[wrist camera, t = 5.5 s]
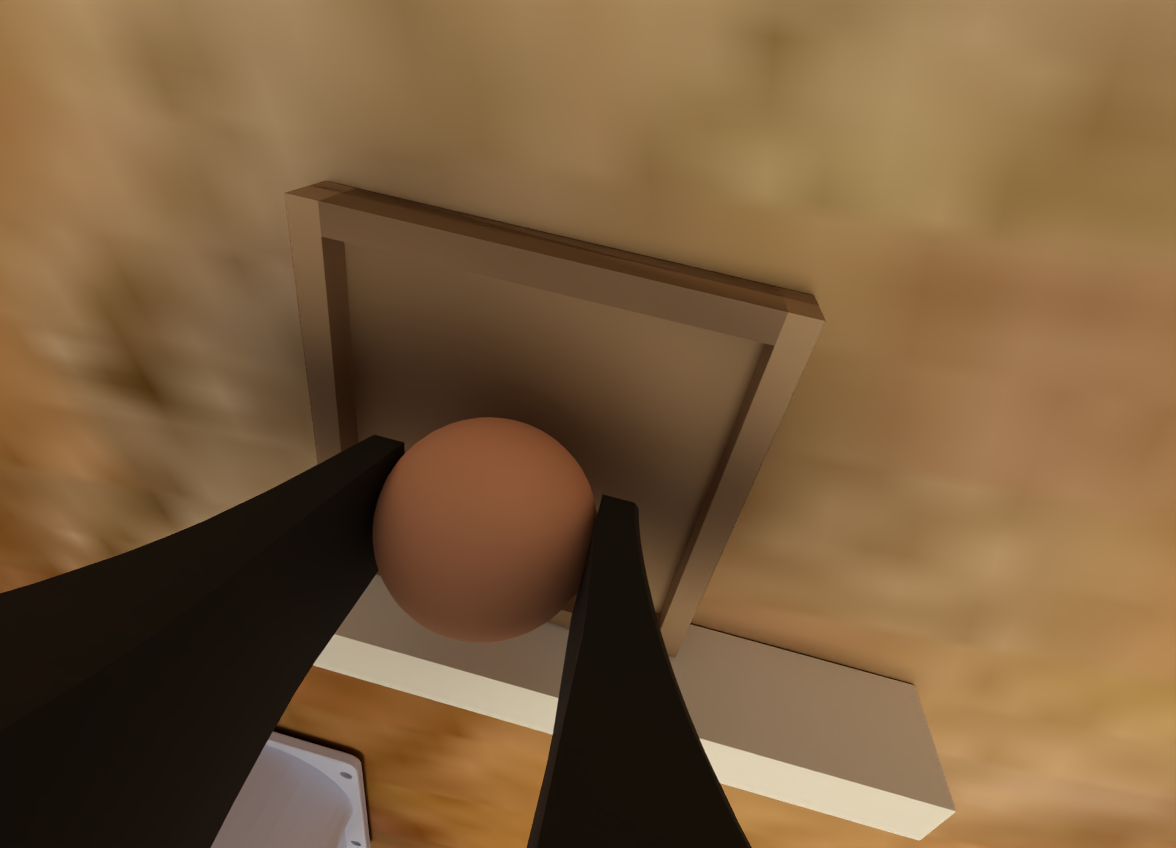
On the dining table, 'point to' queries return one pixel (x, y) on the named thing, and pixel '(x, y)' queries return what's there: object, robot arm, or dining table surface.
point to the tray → (552, 361)
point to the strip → (692, 709)
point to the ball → (484, 529)
